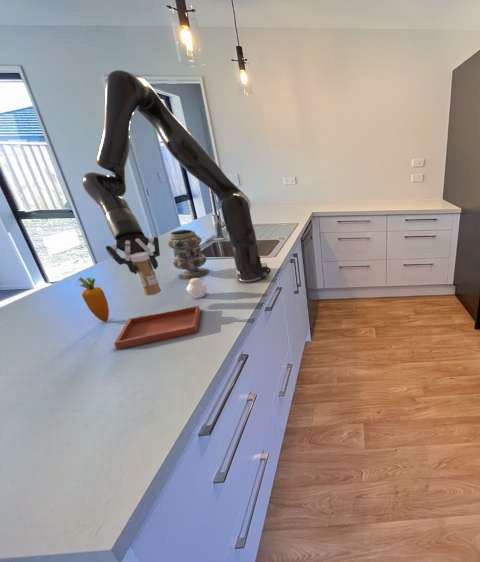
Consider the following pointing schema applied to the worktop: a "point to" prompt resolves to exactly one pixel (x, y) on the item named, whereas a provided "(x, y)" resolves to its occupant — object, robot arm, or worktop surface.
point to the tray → (158, 327)
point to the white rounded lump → (196, 288)
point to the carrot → (95, 299)
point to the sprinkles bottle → (145, 273)
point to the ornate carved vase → (187, 253)
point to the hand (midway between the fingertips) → (145, 269)
